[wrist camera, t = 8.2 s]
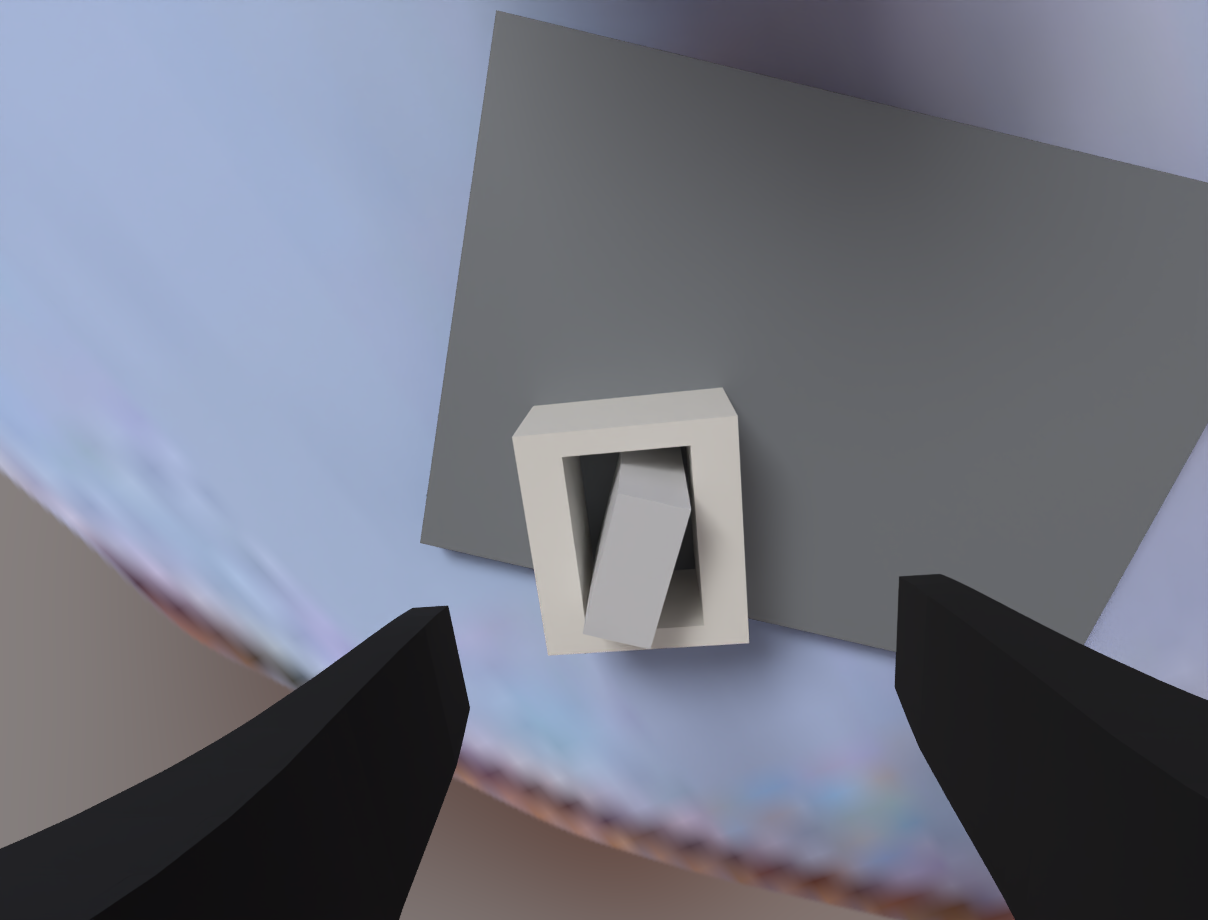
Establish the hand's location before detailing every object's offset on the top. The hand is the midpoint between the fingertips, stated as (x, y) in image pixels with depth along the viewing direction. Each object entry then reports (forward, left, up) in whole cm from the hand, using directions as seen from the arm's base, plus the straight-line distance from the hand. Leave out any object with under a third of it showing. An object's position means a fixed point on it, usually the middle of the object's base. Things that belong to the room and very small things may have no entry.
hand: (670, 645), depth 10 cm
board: (-4, -3, -9) cm, 10 cm away
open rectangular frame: (0, +1, -8) cm, 8 cm away
